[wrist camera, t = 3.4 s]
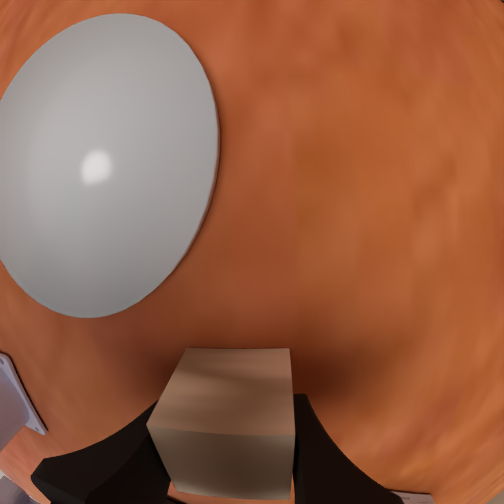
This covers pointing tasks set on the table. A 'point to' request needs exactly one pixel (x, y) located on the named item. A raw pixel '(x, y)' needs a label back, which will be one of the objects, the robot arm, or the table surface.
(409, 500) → the ink cartridge box
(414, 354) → the table surface
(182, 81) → the ceramic dish
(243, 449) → the birch block
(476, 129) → the table surface
